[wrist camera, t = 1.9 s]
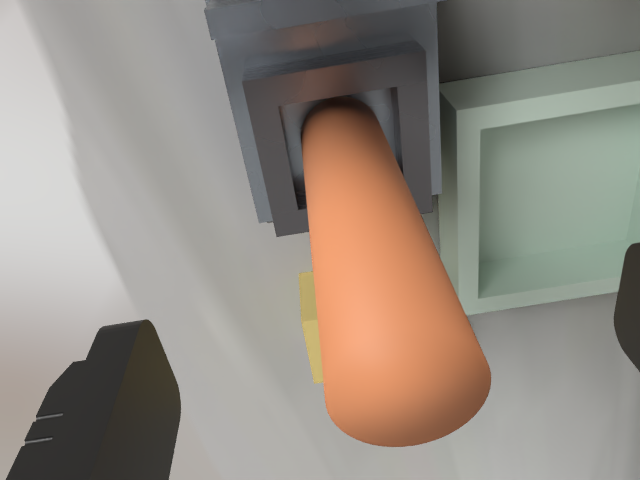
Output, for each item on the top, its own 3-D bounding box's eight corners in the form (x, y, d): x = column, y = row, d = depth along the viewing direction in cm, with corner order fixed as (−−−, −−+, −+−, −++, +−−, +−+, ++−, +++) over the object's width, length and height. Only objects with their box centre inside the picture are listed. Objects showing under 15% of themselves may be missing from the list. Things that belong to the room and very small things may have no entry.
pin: (294, 104, 16) (313, 344, 7) (376, 90, 16) (493, 316, 7) (307, 178, 17) (336, 456, 8) (383, 166, 17) (488, 433, 8)
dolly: (210, -71, 17) (167, -52, 11) (396, -103, 17) (473, -105, 10) (268, 189, 22) (264, 314, 16) (412, 165, 22) (471, 282, 15)
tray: (434, 84, 20) (456, 110, 18) (673, 45, 20) (729, 65, 18) (440, 274, 25) (458, 316, 23) (633, 244, 25) (674, 283, 23)
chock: (298, 271, 25) (301, 322, 22) (406, 255, 25) (424, 303, 22) (310, 330, 27) (314, 383, 24) (410, 315, 27) (427, 367, 24)
